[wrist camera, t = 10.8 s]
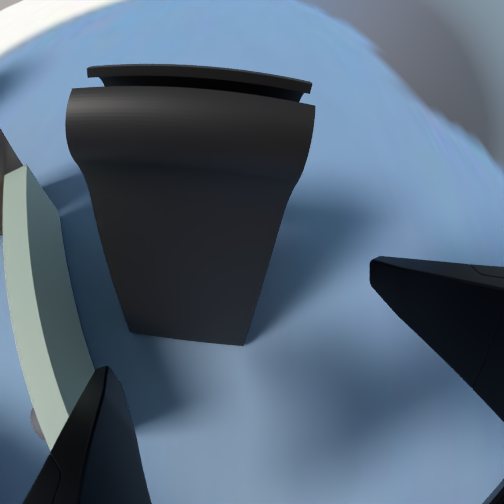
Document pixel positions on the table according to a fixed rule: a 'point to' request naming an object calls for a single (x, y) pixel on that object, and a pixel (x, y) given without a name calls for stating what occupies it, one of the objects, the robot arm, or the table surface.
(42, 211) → the pale green curved block
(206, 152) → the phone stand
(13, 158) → the brown box
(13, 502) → the table surface
